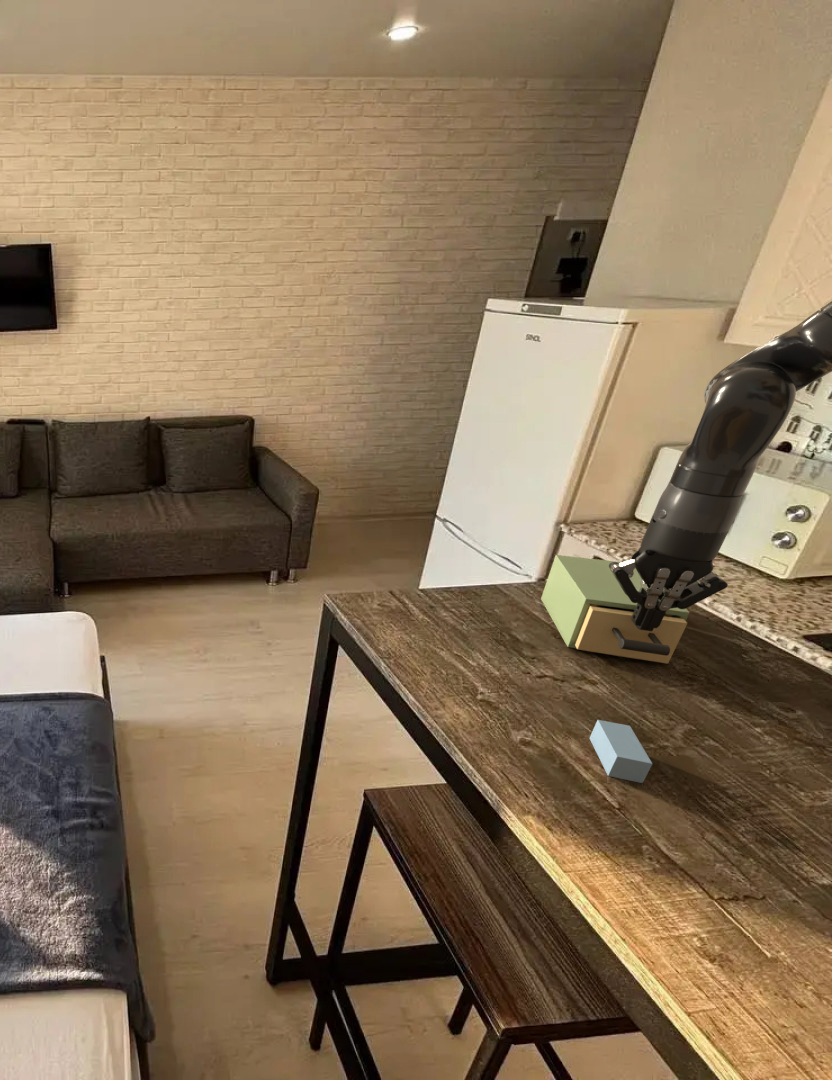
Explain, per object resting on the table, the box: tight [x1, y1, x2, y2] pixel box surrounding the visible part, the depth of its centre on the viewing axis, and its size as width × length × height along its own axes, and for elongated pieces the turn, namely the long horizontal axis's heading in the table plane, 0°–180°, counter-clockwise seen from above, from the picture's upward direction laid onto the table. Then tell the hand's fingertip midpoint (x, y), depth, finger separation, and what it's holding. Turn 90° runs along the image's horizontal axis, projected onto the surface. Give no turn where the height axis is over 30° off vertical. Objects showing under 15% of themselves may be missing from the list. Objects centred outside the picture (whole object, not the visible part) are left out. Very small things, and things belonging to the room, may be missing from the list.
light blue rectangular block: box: [589, 719, 653, 784], centre depth 71 cm, size 3×6×3 cm, turn 159°
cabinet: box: [540, 554, 690, 650], centre depth 95 cm, size 16×13×9 cm
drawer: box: [575, 604, 688, 665], centre depth 91 cm, size 19×11×7 cm, turn 159°
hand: (642, 627), depth 84 cm, fingers closed
